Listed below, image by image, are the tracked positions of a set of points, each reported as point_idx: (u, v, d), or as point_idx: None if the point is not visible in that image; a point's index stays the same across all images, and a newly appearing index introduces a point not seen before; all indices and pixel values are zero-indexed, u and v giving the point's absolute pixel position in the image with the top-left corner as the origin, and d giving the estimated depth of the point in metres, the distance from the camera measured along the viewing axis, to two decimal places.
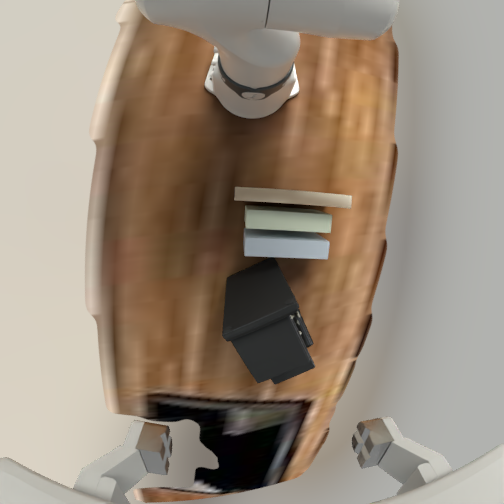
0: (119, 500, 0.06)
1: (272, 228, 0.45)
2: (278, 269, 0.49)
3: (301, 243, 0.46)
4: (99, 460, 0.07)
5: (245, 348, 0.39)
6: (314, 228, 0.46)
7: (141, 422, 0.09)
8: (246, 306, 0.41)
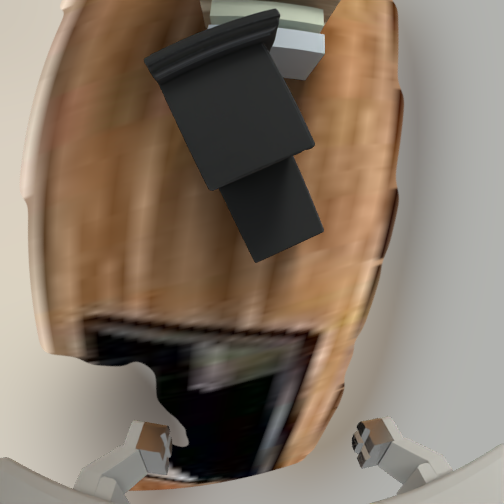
0: (119, 500, 0.06)
1: (244, 15, 0.25)
2: None
3: (285, 32, 0.26)
4: (99, 460, 0.07)
5: (187, 104, 0.19)
6: (301, 19, 0.25)
7: (141, 422, 0.09)
8: None
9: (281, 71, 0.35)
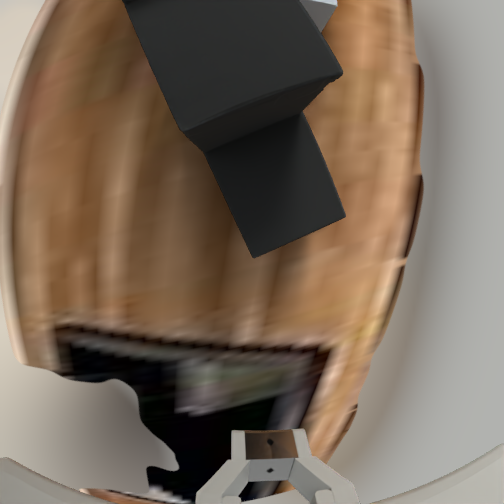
0: None
1: None
2: None
3: None
4: (211, 479, 0.07)
5: (158, 20, 0.10)
6: None
7: (241, 431, 0.09)
8: None
9: None
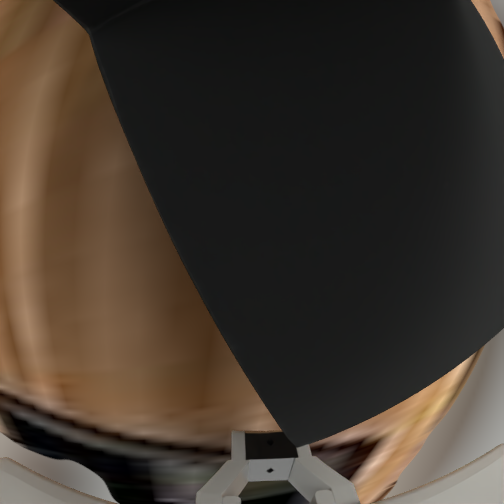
0: None
1: None
2: None
3: None
4: (211, 479, 0.07)
5: None
6: None
7: (241, 431, 0.09)
8: None
9: None
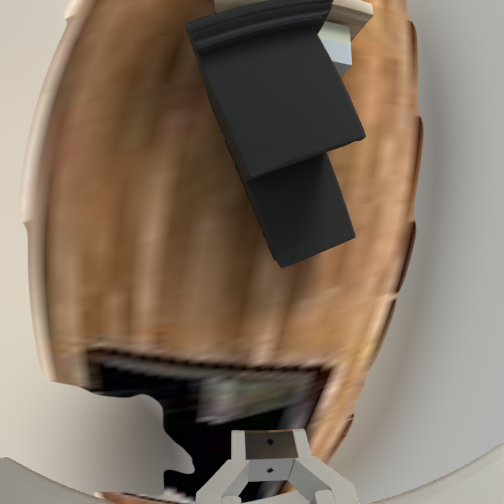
0: None
1: None
2: None
3: None
4: (211, 479, 0.07)
5: (229, 78, 0.16)
6: (327, 36, 0.24)
7: (241, 431, 0.09)
8: None
9: None
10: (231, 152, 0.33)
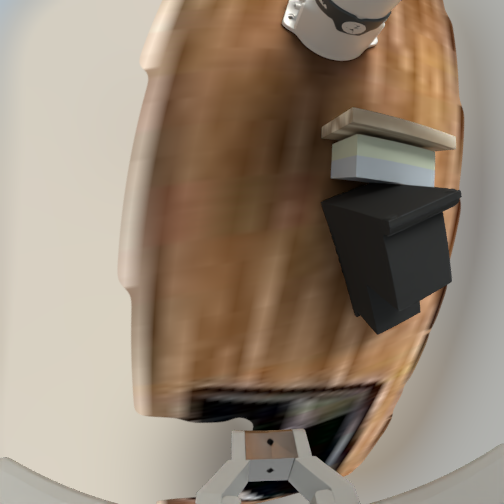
0: None
1: (383, 158, 0.35)
2: (395, 184, 0.38)
3: (411, 169, 0.35)
4: (211, 479, 0.07)
5: (398, 254, 0.27)
6: (421, 164, 0.35)
7: (241, 431, 0.09)
8: (390, 203, 0.29)
9: None
10: (342, 248, 0.44)
